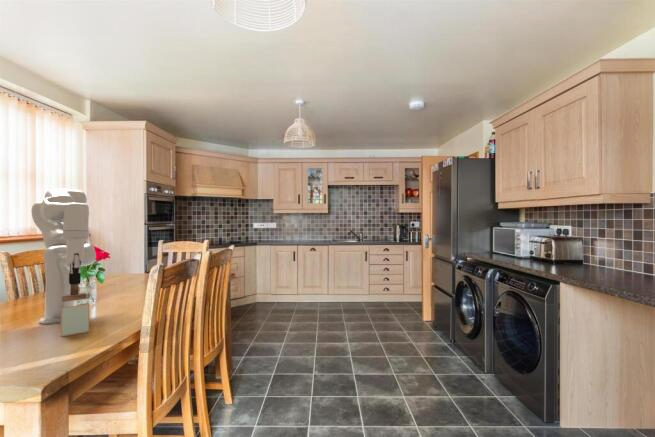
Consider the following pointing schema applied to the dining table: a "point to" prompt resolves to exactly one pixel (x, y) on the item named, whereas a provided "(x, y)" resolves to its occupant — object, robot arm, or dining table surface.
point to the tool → (74, 294)
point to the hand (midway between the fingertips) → (74, 283)
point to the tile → (74, 320)
